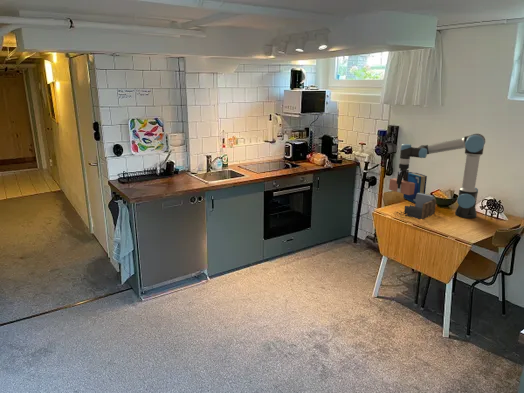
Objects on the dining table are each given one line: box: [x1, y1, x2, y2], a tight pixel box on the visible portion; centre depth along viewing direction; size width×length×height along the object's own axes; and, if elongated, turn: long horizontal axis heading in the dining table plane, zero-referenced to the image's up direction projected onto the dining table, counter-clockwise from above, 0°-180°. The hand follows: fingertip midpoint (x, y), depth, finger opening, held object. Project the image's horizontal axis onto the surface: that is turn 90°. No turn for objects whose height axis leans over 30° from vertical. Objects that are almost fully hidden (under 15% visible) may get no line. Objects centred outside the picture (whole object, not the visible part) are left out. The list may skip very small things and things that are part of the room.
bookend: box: [403, 204, 422, 220], centre depth 308 cm, size 7×16×7 cm, turn 43°
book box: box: [388, 177, 415, 195], centre depth 320 cm, size 6×20×9 cm, turn 32°
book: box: [403, 171, 428, 204], centre depth 345 cm, size 22×7×25 cm, turn 17°
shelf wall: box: [420, 198, 437, 220], centre depth 307 cm, size 20×2×12 cm, turn 133°
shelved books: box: [414, 193, 436, 208], centre depth 316 cm, size 6×12×15 cm, turn 43°
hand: (401, 191), depth 321 cm, fingers closed on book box, 7 cm apart
